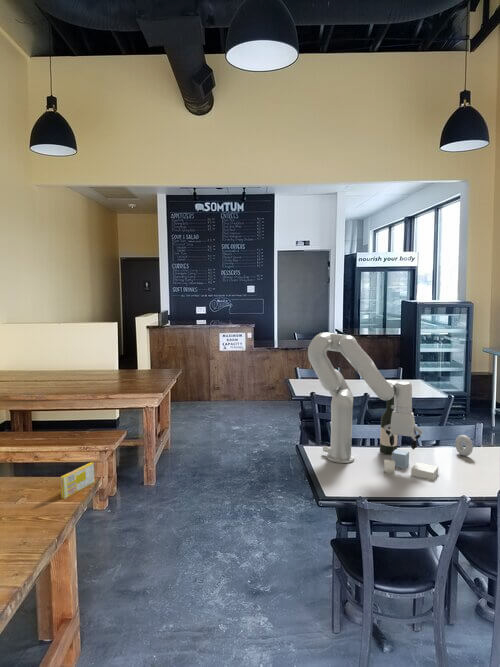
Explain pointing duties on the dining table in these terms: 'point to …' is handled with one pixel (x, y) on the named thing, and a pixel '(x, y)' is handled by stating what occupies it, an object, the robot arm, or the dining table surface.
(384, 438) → the wine bottle
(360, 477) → the dining table surface
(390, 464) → the cream cap
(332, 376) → the robot arm
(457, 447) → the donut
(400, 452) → the slate cube
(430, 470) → the plinth
